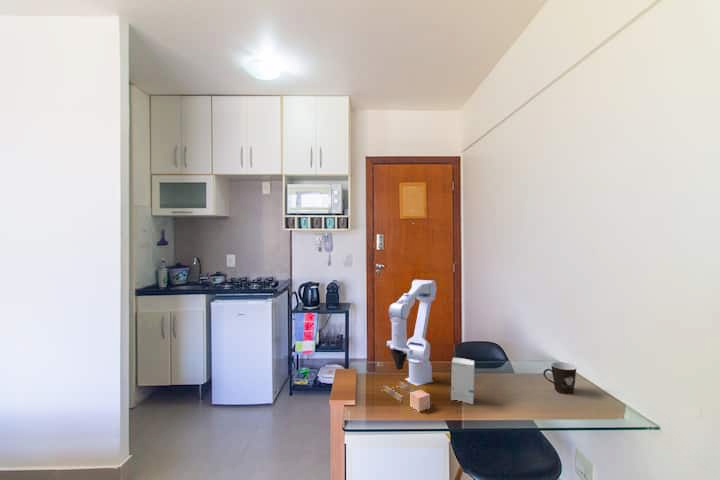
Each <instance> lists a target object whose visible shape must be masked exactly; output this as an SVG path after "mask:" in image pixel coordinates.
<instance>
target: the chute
mask: <svg viewBox="0 0 720 480" xmlns="http://www.w3.org/2000/svg"><path fill="white" fill-rule="evenodd" d="M397 382H398V383H397V387H398V386H399V387H400V388H402V389H403V390H404V391H406V392H408V393H409V394H410V392H414V391H417V390H416V388H413V387H411V386H409V385H408V384H406V383H405V382H403V381H401V380H398V381H397ZM382 385H383V386H382V391H383V390H384V391H386V392H387V393H389V394H390V395H392V396H393V397H394V398H396V399H397V400H399V401H400V402H401V403H403V396H402V395H400V394H398V393H397V392H395V391H394V390H392V389H391V388H392V387H389V386H387V385H386V384H382Z"/></svg>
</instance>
